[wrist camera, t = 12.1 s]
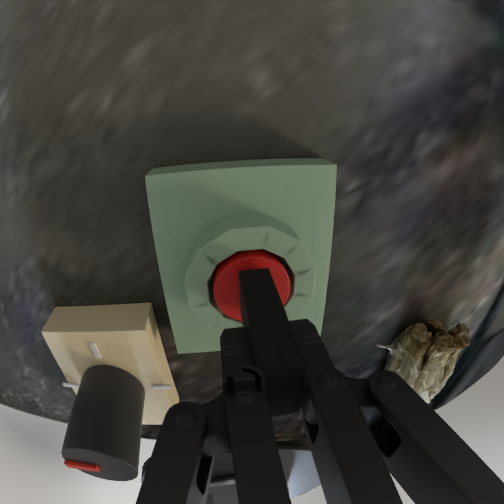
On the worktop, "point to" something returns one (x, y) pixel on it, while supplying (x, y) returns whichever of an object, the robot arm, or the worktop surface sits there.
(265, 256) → the switch button
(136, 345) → the dial panel
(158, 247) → the switch base
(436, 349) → the mushroom
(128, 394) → the dial
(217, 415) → the robot arm
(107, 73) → the worktop surface
